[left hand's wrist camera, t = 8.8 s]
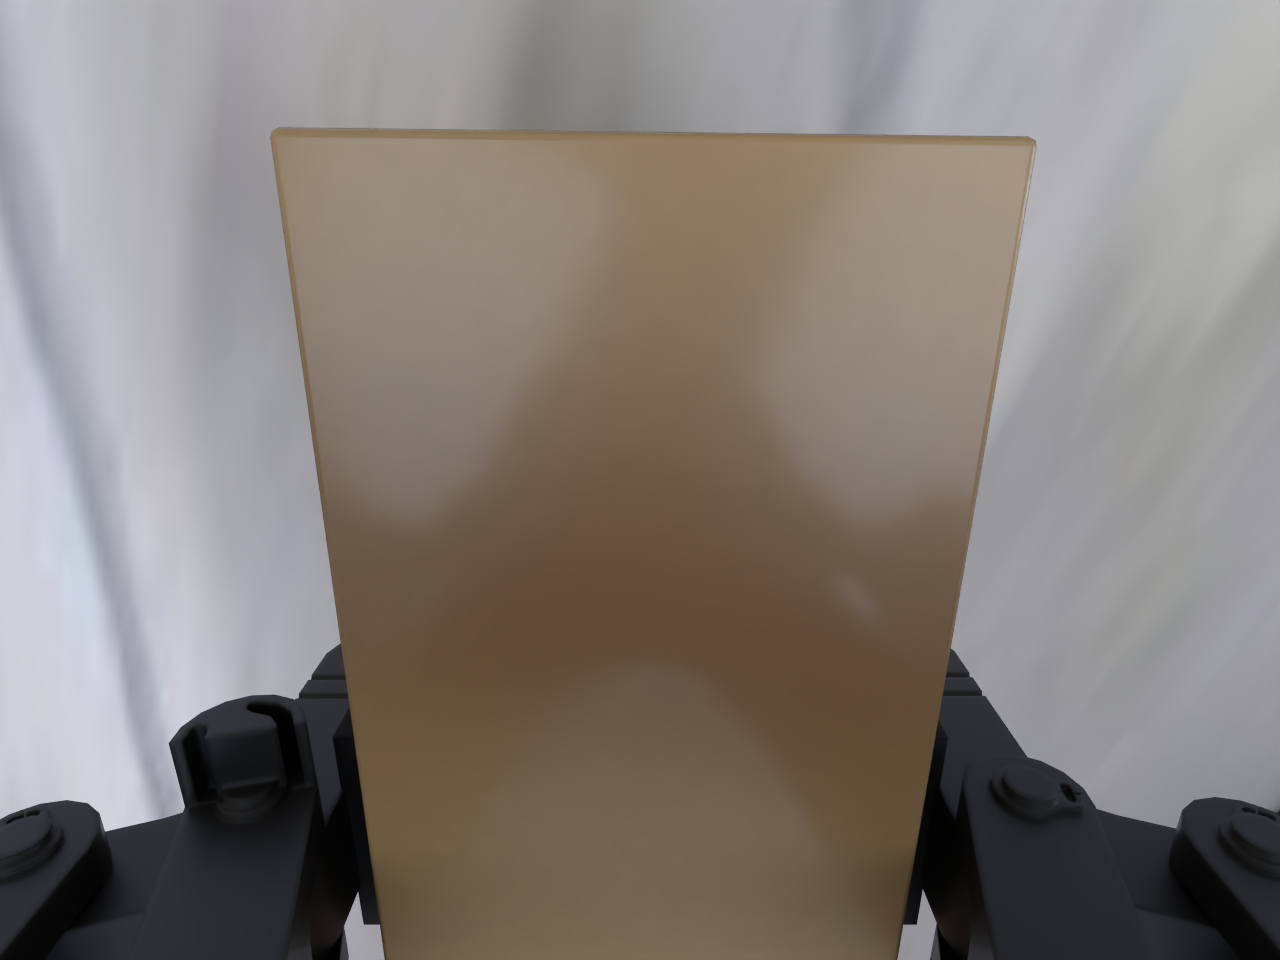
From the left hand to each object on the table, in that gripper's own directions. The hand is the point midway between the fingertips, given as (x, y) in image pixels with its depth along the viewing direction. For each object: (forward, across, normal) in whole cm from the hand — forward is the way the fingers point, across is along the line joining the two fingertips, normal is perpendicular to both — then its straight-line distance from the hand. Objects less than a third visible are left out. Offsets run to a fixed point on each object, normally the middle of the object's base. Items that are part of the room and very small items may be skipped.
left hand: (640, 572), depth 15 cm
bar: (0, 0, -24) cm, 24 cm away
